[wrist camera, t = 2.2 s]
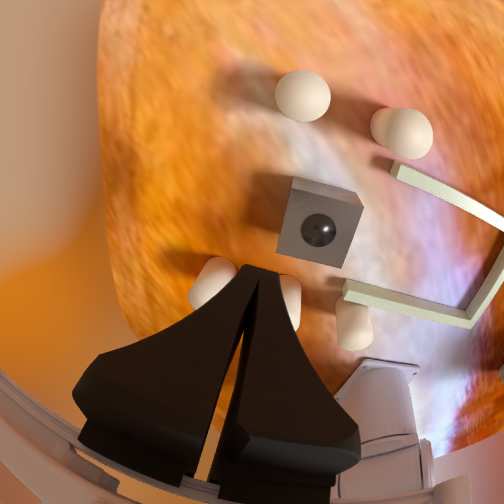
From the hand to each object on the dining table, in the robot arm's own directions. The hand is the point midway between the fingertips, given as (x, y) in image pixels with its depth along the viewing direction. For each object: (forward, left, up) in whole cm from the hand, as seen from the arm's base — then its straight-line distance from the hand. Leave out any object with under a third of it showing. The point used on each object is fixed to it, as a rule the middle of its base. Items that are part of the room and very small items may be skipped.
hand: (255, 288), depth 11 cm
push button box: (0, -3, -10) cm, 11 cm away
